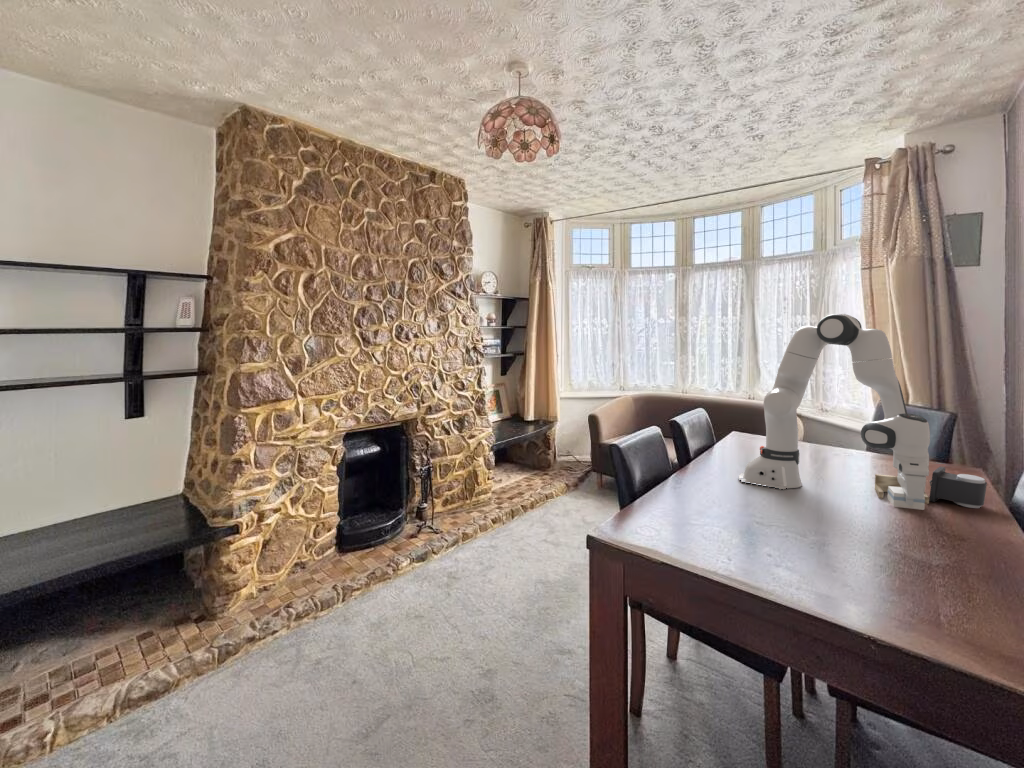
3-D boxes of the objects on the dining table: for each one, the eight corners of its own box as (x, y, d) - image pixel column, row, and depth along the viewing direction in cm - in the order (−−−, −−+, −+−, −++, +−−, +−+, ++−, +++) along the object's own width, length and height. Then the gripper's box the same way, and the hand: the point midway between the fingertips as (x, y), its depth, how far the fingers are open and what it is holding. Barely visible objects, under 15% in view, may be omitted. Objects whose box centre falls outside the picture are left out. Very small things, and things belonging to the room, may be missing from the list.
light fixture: (979, 513, 146) (984, 481, 144) (925, 501, 156) (929, 471, 155) (986, 505, 152) (990, 475, 151) (934, 494, 163) (937, 465, 161)
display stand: (878, 498, 161) (879, 481, 160) (874, 489, 170) (875, 474, 169) (928, 504, 154) (929, 487, 153) (921, 494, 163) (922, 478, 162)
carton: (893, 507, 153) (893, 492, 153) (887, 499, 160) (887, 485, 160) (924, 510, 149) (925, 496, 149) (917, 502, 156) (917, 488, 156)
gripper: (892, 455, 158) (891, 493, 160) (903, 470, 141) (901, 512, 143) (916, 457, 155) (914, 495, 156) (930, 472, 138) (928, 515, 139)
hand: (908, 503), depth 149 cm, fingers closed
